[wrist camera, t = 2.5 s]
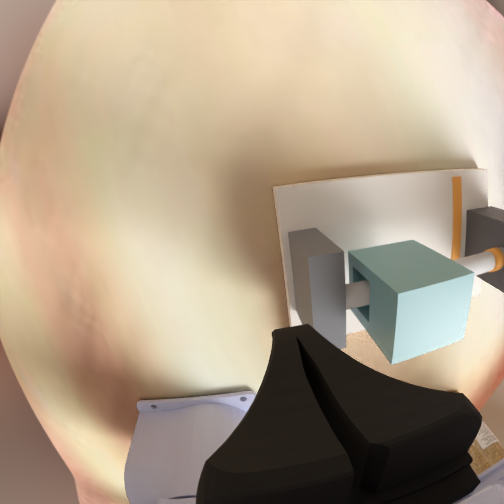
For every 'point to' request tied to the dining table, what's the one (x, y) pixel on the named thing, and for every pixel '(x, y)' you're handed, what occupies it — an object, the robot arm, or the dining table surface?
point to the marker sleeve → (411, 298)
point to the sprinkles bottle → (485, 450)
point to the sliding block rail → (379, 236)
